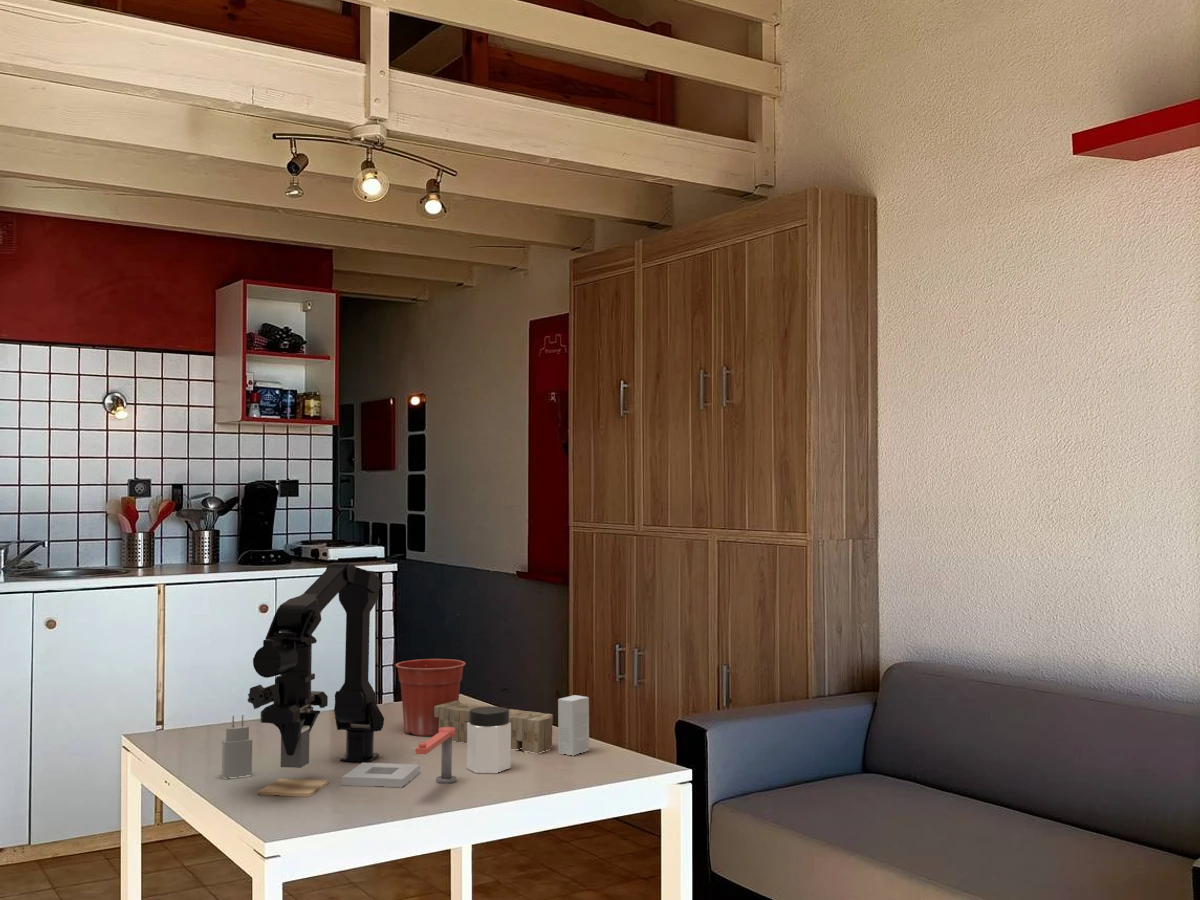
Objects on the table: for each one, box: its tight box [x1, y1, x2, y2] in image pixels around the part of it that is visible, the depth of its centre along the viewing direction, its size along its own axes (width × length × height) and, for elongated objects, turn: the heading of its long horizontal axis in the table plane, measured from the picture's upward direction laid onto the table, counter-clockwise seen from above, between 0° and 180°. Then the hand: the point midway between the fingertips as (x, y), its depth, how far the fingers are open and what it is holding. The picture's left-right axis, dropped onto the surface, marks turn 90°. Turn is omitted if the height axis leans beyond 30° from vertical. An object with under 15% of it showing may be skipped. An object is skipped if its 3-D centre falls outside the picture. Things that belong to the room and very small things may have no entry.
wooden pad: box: [256, 778, 329, 798], centre depth 214 cm, size 10×10×1 cm
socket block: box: [341, 737, 458, 788], centre depth 222 cm, size 12×21×9 cm, turn 83°
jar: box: [466, 705, 512, 774], centre depth 231 cm, size 9×8×12 cm
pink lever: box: [415, 727, 455, 755], centre depth 214 cm, size 18×3×2 cm, turn 171°
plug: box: [280, 726, 311, 769], centre depth 215 cm, size 4×4×7 cm
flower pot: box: [395, 658, 466, 737], centre depth 269 cm, size 16×16×16 cm
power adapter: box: [221, 714, 253, 778], centre depth 224 cm, size 3×5×12 cm, turn 122°
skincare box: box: [557, 694, 590, 755], centre depth 246 cm, size 6×4×12 cm
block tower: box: [434, 700, 554, 753], centre depth 256 cm, size 8×8×29 cm
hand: (294, 752), depth 215 cm, fingers closed on plug, 4 cm apart
